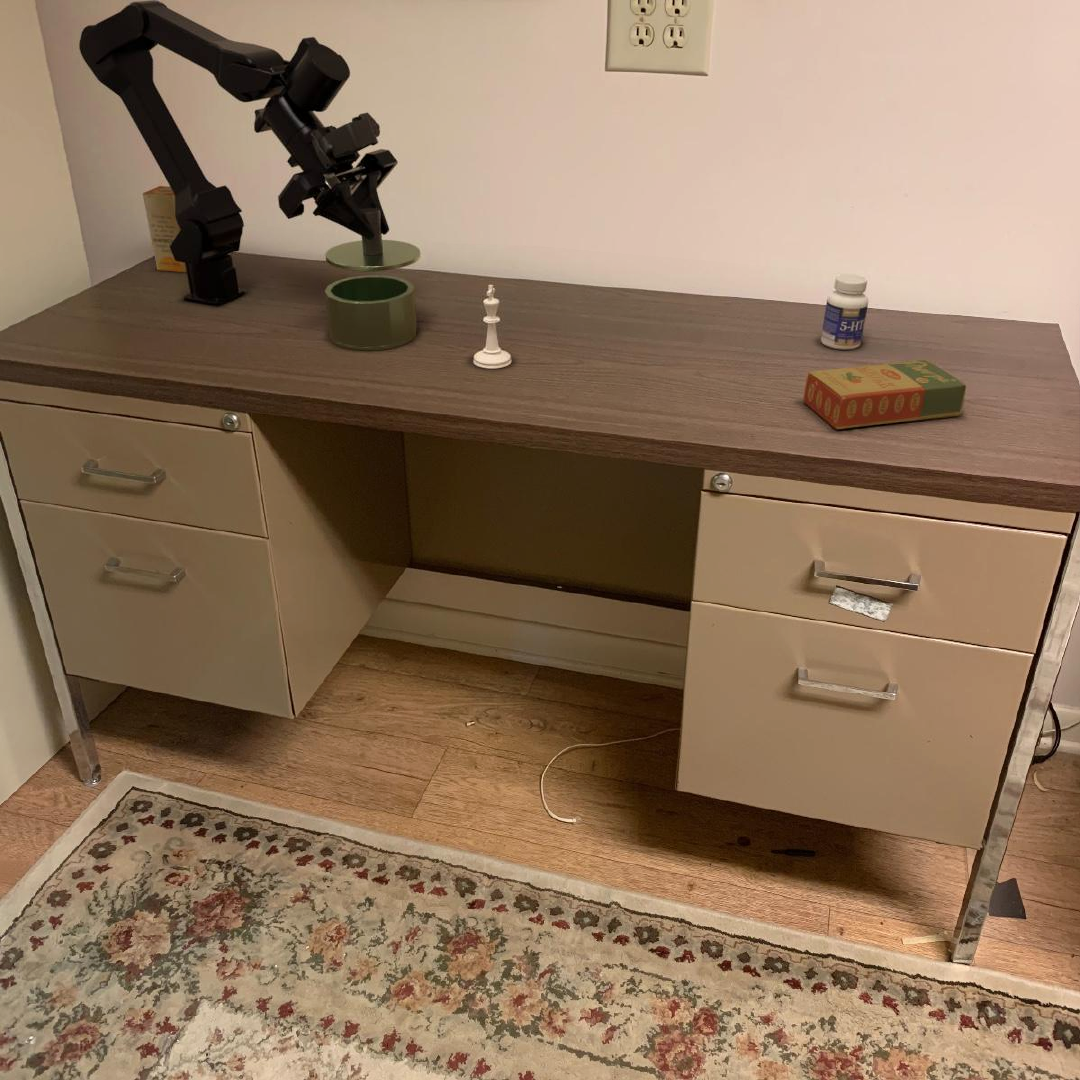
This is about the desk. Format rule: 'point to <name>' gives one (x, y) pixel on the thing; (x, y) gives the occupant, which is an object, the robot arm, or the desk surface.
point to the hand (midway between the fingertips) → (380, 235)
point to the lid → (373, 250)
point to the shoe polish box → (163, 227)
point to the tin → (371, 312)
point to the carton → (884, 394)
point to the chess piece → (491, 338)
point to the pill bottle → (845, 313)
